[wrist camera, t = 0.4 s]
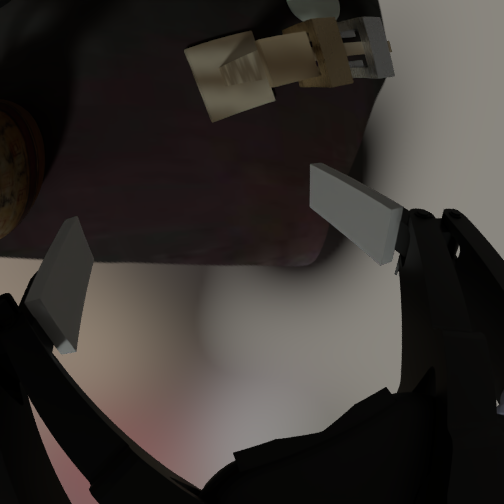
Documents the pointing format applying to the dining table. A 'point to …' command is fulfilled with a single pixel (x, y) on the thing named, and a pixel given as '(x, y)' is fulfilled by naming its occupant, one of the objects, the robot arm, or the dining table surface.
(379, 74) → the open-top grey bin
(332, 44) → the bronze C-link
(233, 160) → the dining table surface
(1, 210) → the ceramic pitcher
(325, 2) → the felt pad
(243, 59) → the peg stand
